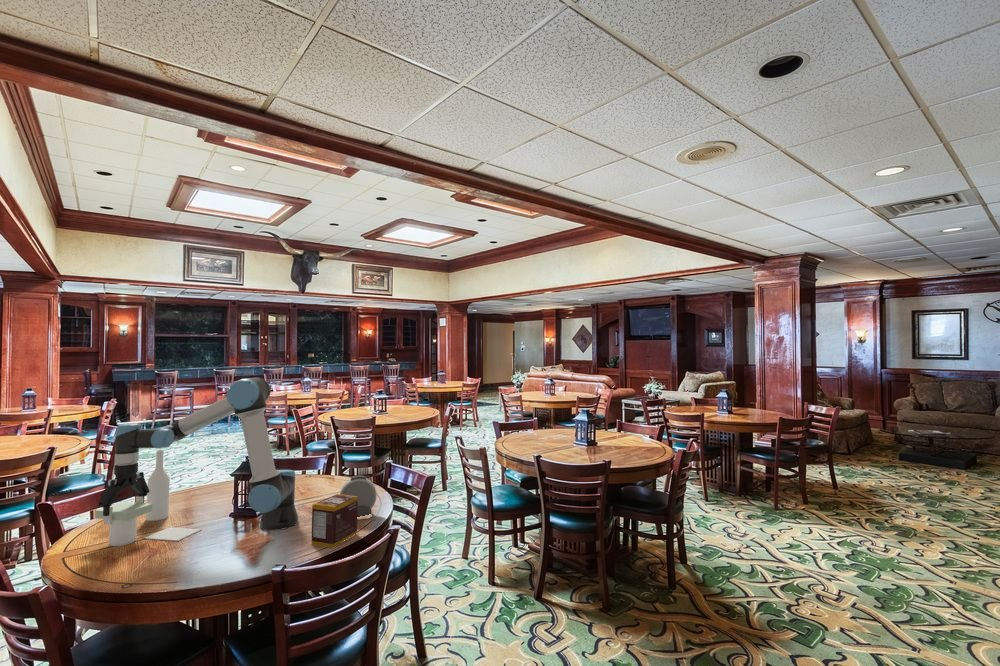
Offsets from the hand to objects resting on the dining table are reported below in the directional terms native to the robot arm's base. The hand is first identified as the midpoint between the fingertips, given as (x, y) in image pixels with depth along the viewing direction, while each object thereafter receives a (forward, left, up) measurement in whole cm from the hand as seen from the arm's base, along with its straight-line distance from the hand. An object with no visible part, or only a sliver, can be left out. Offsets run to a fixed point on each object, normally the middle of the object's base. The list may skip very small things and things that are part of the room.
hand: (124, 518), depth 188 cm
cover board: (0, 0, +1) cm, 1 cm away
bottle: (+9, -25, -9) cm, 28 cm away
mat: (-14, -9, -9) cm, 19 cm away
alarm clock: (-78, -42, -9) cm, 89 cm away
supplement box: (-81, -15, -9) cm, 83 cm away
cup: (0, 0, -9) cm, 9 cm away
